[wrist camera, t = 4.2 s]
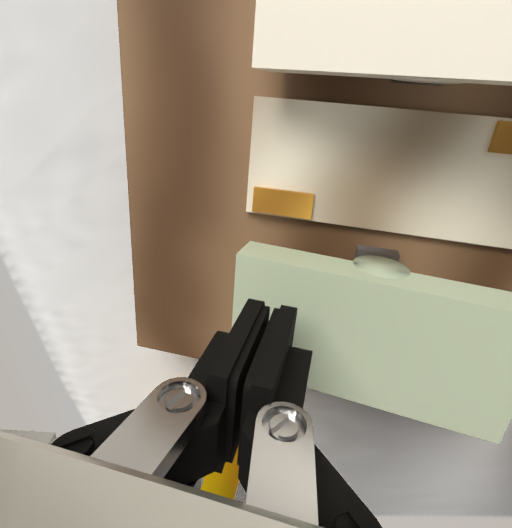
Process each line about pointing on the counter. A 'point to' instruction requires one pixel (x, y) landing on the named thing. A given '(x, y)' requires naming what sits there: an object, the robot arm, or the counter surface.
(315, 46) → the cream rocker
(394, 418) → the counter surface
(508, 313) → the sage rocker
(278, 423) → the robot arm
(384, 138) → the switch unit
